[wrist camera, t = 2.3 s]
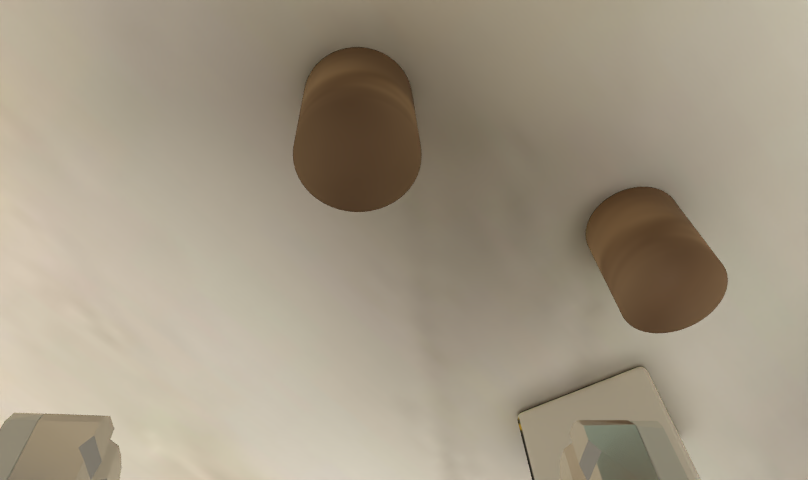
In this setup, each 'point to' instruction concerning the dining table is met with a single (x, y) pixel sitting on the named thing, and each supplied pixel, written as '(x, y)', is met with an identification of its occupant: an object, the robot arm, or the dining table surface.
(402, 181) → the loose bead
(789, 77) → the dining table surface
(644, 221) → the wooden cylinder
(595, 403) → the medicine bottle
